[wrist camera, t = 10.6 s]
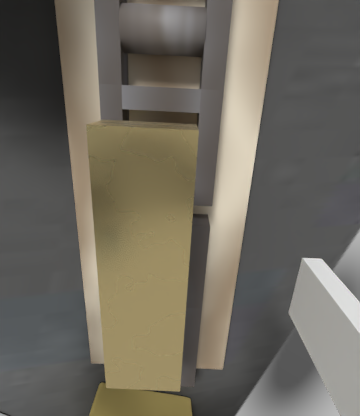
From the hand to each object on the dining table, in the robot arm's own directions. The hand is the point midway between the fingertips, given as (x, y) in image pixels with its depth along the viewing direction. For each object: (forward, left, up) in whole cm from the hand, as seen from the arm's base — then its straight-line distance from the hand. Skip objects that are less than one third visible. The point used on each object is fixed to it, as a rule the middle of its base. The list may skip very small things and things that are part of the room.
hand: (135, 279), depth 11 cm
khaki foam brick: (0, 0, -9) cm, 9 cm away
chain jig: (0, 0, -10) cm, 10 cm away
